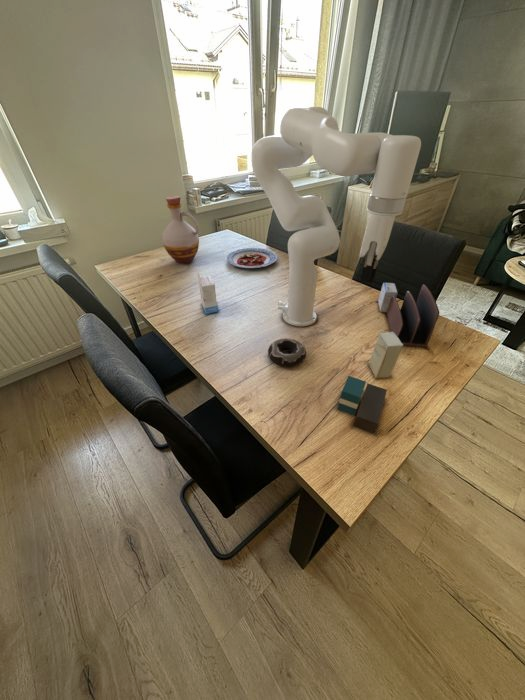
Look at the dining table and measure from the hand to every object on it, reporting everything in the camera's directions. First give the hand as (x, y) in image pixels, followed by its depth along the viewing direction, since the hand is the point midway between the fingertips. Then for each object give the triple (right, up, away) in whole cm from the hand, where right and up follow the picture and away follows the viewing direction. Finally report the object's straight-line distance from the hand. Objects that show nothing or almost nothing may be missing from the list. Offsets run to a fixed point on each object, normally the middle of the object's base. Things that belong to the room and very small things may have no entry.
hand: (367, 280), depth 75 cm
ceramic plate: (-33, +28, +73) cm, 85 cm away
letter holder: (+23, -11, +26) cm, 36 cm away
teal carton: (-2, -33, -2) cm, 33 cm away
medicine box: (+20, -2, +37) cm, 43 cm away
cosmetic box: (+7, -25, +10) cm, 27 cm away
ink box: (-48, -2, +38) cm, 61 cm away
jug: (-68, +28, +74) cm, 104 cm away
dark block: (0, -34, -2) cm, 34 cm away
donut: (-20, -21, +15) cm, 32 cm away
